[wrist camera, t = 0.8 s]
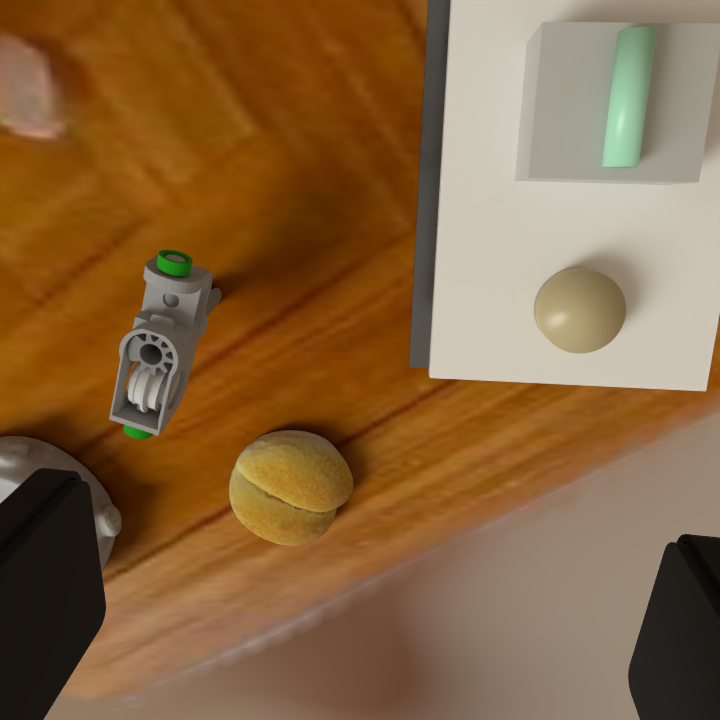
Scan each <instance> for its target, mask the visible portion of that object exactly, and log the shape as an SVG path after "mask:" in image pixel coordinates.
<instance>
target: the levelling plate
mask: <svg viewBox="0 0 720 720" xmlns="http://www.w3.org/2000/svg"><path fill="white" fill-rule="evenodd" d="M719 314H720V0H451V2H450V19H449V36H448V53H447V70H446V87H445V104H444V121H443V138H442V155H441V172H440V189H439V206H438V223H437V240H436V257H435V274H434V291H433V309H432V326H431V343H430V360H429V378H444V379H465V380H485V381H506V382H527V383H547V384H568V385H588V386H609V387H629V388H650V389H670V390H691V391H706V388H707V382H708V376H709V371H710V365H711V359H712V354H713V348H714V342H715V337H716V331H717V325H718V320H719Z"/></svg>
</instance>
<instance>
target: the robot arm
mask: <svg viewBox="0 0 720 720" xmlns="http://www.w3.org/2000/svg"><path fill="white" fill-rule="evenodd" d="M105 612H106V601H105V594H104V586H103V579H102V571H101V564H100V556H99V549H98V541H97V534H96V526H95V519H94V511H93V504H92V496H91V489H90V485H89V484H88V482H86V481H82V479H81V476H80V475H79V473H78V472H76V471H70V470H61V469H51V468H39V469H38V470H36V471H35V472H34V473H33V474H31V475H30V476H29V477H28V478H27V479H26V480H25V481H24V482H23V483H22V484H21V485H20V486H18V487H17V488H16V489H15V490H14V491H13V492H12V493H11V494H10V495H9V496H8V497H7V498H6V499H4V500H3V501H2V502H1V503H0V720H43V719H44V718H45V716H46V714H47V713H48V711H49V710H50V708H51V706H52V705H53V703H54V702H55V700H56V698H57V697H58V695H59V694H60V692H61V690H62V689H63V687H64V686H65V684H66V682H67V681H68V679H69V678H70V676H71V674H72V673H73V671H74V670H75V668H76V666H77V665H78V663H79V662H80V660H81V658H82V657H83V655H84V654H85V652H86V650H87V649H88V647H89V646H90V644H91V642H92V641H93V639H94V638H95V636H96V634H97V633H98V631H99V629H100V628H101V626H102V623H103V620H104V617H105ZM628 674H629V675H628V679H629V688H630V692H631V695H632V698H633V701H634V703H635V706H636V709H637V712H638V715H639V718H640V720H720V538H718V537H709V536H699V535H690V534H684V535H681V536H680V537H679V539H678V541H677V543H674V542H671V543H669V544H668V545H667V546H666V548H665V551H664V554H663V557H662V561H661V564H660V567H659V571H658V574H657V577H656V580H655V584H654V587H653V590H652V593H651V597H650V600H649V603H648V607H647V610H646V613H645V616H644V620H643V623H642V626H641V630H640V633H639V636H638V639H637V643H636V646H635V650H634V653H633V656H632V659H631V662H630V666H629V673H628Z"/></svg>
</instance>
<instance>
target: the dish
mask: <svg viewBox="0 0 720 720" xmlns="http://www.w3.org/2000/svg"><path fill="white" fill-rule="evenodd" d="M39 468H51V469H61V470H70V471H76V472H78V473H79V475H80V476H81V479H82V481H86V482H88V484H89V485H90V489H91V496H92V504H93V511H94V519H95V526H96V534H97V541H98V549H99V556H100V564H101V571H102V570H103V568H104V566H105V564H106V562H107V560H108V558H109V556H110V553H111V550H112V547H113V544H114V541H115V536H116V535H117V534H119V532H120V530H121V526H122V520H121V514H120V512H119V510H118V509H117V508H116V507H115V506H113V504H112V501H111V499H110V497H109V495H108V493H107V492H106V490H105V489H104V488H103V486H102V485H101V483H100V482H99V481H98V480H97V479H96V477H95V476H94V475H92V473H91V472H90V471H89V470H88V469H87V468H86V467H84V466H83V465H82V464H81V463H80V462H78V461H77V460H76V459H74V458H73V457H72V456H70V455H69V454H67V453H65V452H64V451H62V450H60V449H59V448H57V447H55V446H54V445H51V444H49V443H46V442H44V441H41V440H38V439H34V438H30V437H24V436H4V437H0V503H1V502H2V501H3V500H4V499H6V498H7V497H8V496H9V495H10V494H11V493H12V492H13V491H14V490H15V489H16V488H17V487H18V486H20V485H21V484H22V483H23V482H24V481H25V480H26V479H27V478H28V477H29V476H30V475H31V474H33V473H34V472H35V471H36V470H38V469H39Z"/></svg>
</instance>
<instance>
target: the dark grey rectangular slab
mask: <svg viewBox="0 0 720 720" xmlns="http://www.w3.org/2000/svg"><path fill="white" fill-rule="evenodd" d="M450 2H451V0H428V15H427V34H426V53H425V71H424V90H423V109H422V128H421V147H420V166H419V185H418V204H417V223H416V242H415V261H414V280H413V299H412V317H411V336H410V355H409V367H419V368H429V360H430V343H431V326H432V309H433V291H434V274H435V257H436V240H437V223H438V206H439V189H440V172H441V155H442V138H443V121H444V104H445V87H446V70H447V53H448V36H449V19H450Z"/></svg>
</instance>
